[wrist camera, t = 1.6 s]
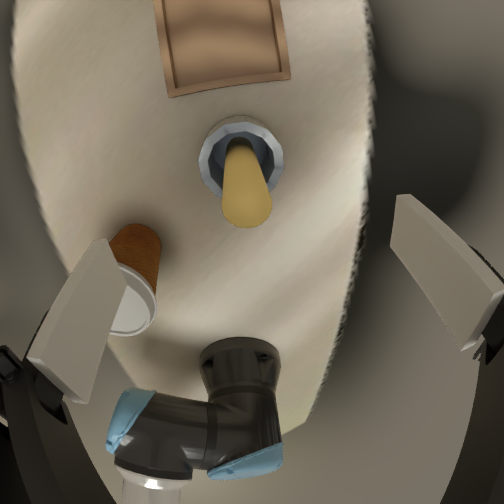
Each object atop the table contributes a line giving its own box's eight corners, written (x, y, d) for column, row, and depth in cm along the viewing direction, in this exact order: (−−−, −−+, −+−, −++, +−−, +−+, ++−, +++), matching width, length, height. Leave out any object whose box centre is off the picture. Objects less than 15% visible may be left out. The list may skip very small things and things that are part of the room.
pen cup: (275, 173, 30) (286, 195, 25) (212, 182, 31) (208, 207, 25) (268, 111, 26) (278, 117, 21) (200, 121, 27) (191, 131, 21)
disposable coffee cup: (154, 201, 31) (121, 259, 21) (184, 263, 36) (171, 331, 26) (95, 226, 32) (53, 283, 22) (128, 280, 37) (103, 343, 27)
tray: (286, 79, 25) (291, 79, 23) (173, 97, 25) (168, 97, 23) (268, -28, 17) (271, -36, 15) (156, -10, 17) (151, -17, 15)
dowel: (254, 159, 28) (274, 224, 16) (228, 163, 28) (226, 231, 16) (250, 134, 27) (269, 178, 14) (224, 138, 27) (217, 186, 14)
